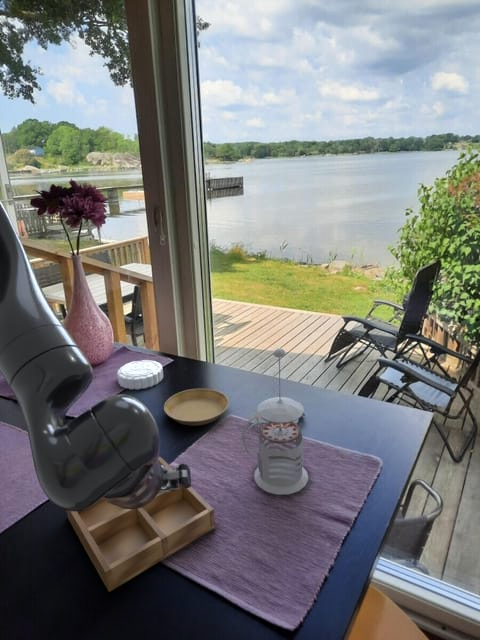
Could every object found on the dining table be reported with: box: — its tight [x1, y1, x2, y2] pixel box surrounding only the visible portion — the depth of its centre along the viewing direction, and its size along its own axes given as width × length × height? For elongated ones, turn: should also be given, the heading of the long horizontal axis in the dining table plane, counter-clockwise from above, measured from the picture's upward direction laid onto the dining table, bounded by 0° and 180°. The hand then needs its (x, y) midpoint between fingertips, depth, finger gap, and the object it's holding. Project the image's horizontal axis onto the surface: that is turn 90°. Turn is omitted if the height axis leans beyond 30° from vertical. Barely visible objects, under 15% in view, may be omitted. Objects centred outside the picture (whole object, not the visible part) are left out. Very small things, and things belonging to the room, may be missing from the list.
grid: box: [65, 456, 216, 593], centre depth 70 cm, size 17×17×4 cm
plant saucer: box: [163, 388, 230, 427], centre depth 101 cm, size 15×15×3 cm
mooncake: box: [116, 359, 164, 391], centre depth 119 cm, size 12×12×4 cm
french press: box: [241, 347, 309, 496], centre depth 76 cm, size 10×12×25 cm
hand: (145, 487), depth 68 cm, fingers open, 8 cm apart
